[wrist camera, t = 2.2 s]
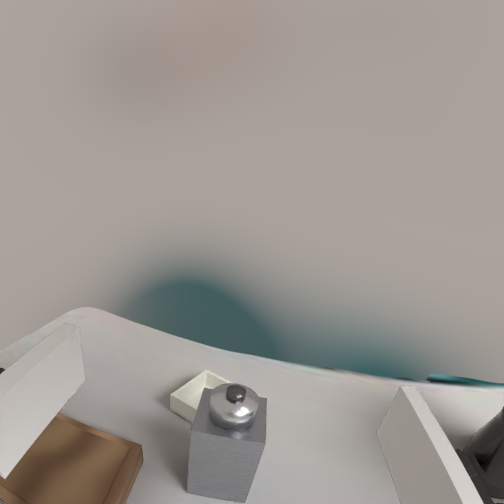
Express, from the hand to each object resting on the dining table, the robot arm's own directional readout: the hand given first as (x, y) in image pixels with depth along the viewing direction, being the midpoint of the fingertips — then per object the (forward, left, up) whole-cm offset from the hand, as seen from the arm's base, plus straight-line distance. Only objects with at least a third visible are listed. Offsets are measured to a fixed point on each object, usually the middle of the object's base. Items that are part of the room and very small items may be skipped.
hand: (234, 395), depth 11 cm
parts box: (-14, -19, -22) cm, 32 cm away
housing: (-8, -8, -22) cm, 25 cm away
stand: (+8, -14, -22) cm, 27 cm away
